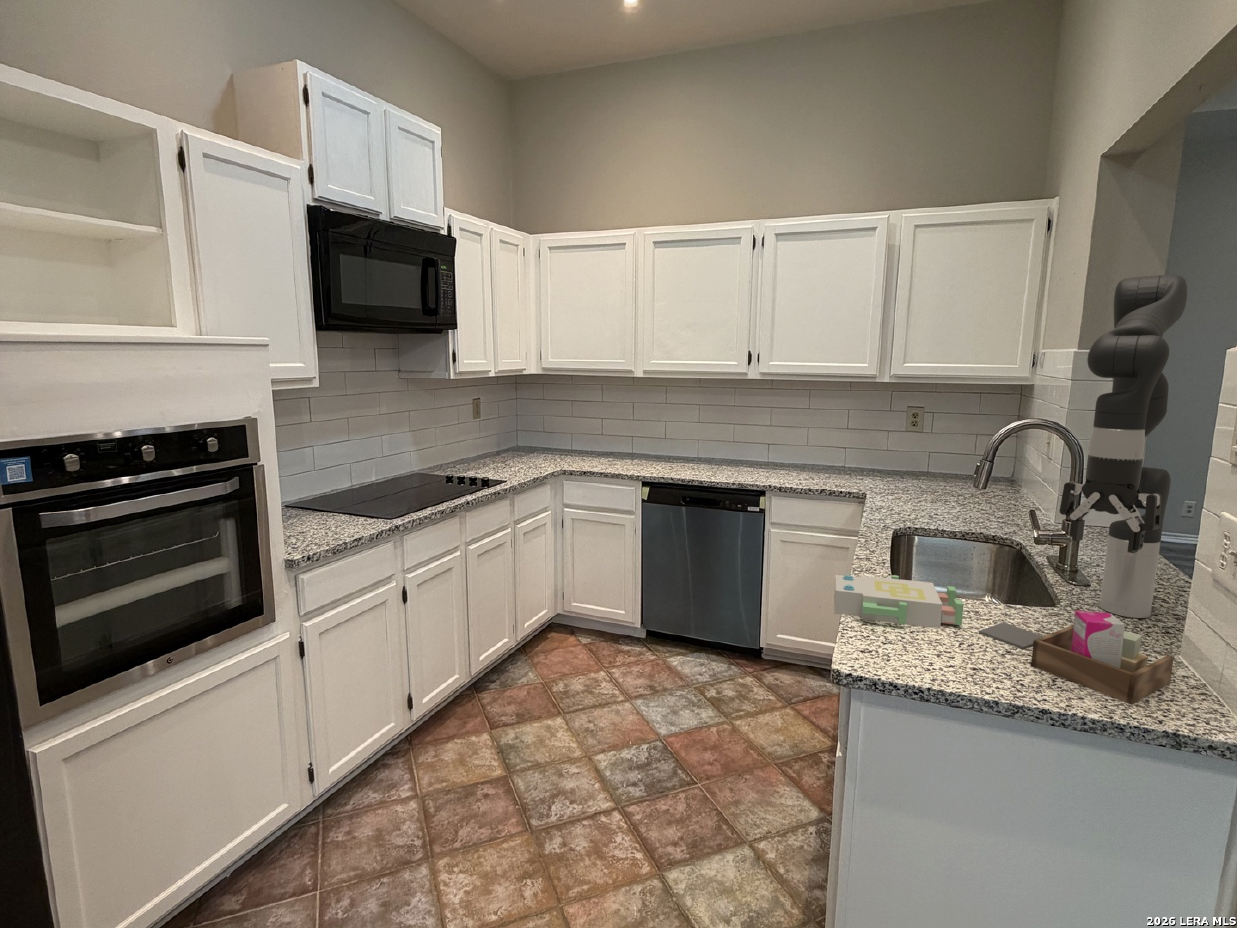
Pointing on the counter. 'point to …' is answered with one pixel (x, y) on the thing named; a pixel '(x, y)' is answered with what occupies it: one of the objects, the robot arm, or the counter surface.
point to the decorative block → (896, 601)
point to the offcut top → (1131, 645)
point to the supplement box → (1098, 637)
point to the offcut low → (1134, 663)
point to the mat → (1011, 635)
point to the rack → (1098, 669)
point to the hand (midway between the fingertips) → (1103, 546)
